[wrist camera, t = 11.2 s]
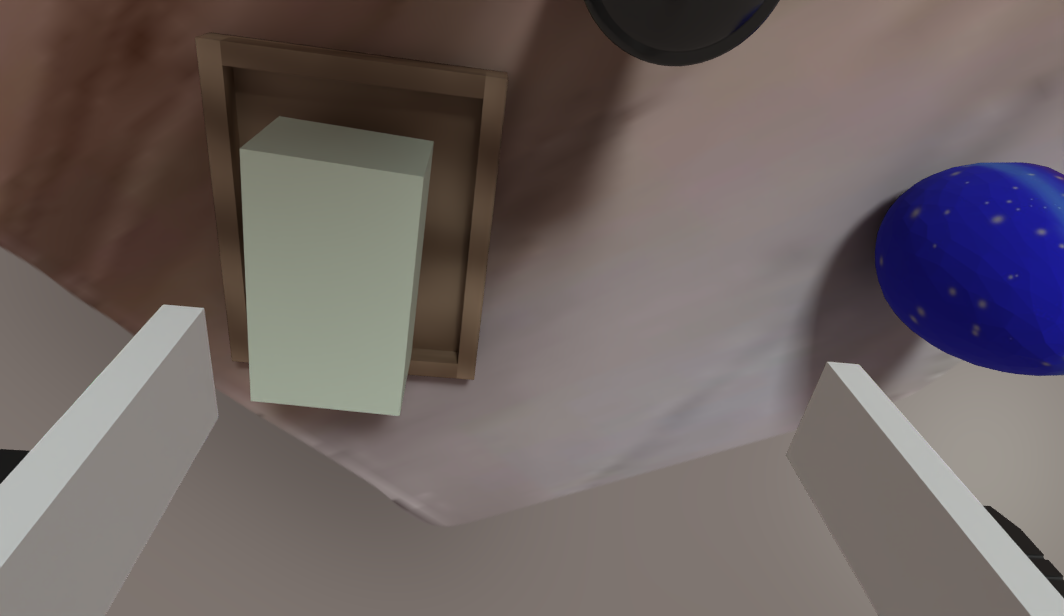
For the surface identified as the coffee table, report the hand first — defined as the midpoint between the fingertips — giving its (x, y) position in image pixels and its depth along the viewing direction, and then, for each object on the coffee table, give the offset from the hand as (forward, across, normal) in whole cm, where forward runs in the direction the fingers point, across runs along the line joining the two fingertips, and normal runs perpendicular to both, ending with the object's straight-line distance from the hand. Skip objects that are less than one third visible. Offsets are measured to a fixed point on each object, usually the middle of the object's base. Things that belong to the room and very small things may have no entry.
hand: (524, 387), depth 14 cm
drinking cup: (+27, +5, +9) cm, 29 cm away
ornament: (+27, +28, -4) cm, 39 cm away
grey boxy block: (+23, -8, -8) cm, 26 cm away
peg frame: (+27, -8, -8) cm, 29 cm away
